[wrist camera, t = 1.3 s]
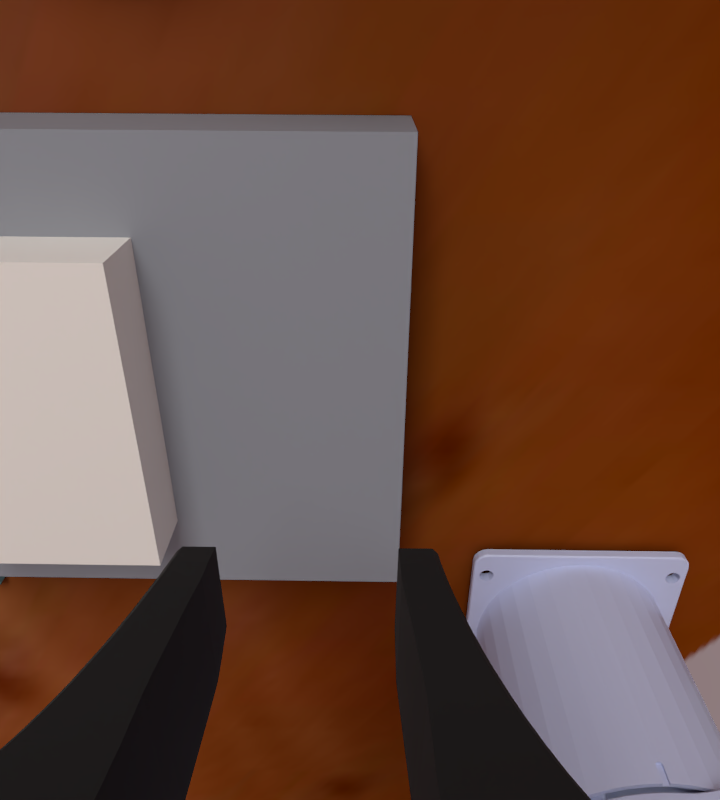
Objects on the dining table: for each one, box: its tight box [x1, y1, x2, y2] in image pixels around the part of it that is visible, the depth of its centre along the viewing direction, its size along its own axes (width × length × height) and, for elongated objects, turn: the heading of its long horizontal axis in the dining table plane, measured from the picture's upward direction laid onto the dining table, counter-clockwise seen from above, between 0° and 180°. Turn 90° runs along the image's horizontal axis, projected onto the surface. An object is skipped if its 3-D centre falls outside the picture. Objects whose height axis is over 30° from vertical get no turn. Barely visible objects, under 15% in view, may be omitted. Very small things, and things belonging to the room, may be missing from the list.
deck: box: [0, 113, 418, 582], centre depth 20 cm, size 14×15×3 cm
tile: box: [0, 236, 178, 566], centre depth 18 cm, size 9×6×2 cm, turn 0°
